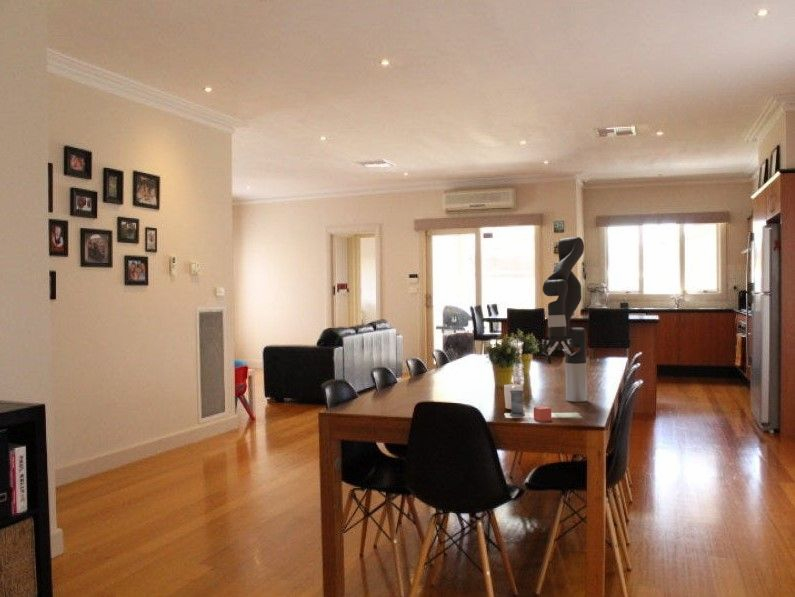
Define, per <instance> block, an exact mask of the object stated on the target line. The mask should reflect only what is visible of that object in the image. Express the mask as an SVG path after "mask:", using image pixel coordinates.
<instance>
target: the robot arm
mask: <svg viewBox="0 0 795 597" xmlns="http://www.w3.org/2000/svg"><path fill="white" fill-rule="evenodd" d="M584 250H585V244H584V241H583V239H582V238H581V237H580V236H573V237H567V238H566V237H565V238H561V239H559V240H558V243H557V252H558V261H559V262H558V263H557V264H555V267H554V269H553V272H552V273H551V274H550V275H549V276H548V277H547V278H546V279H545V281H544V283H543V285H542V292H543V294H544V295H545V296H546V297H557V299H556V300H554V301H550V302H549V303H547V313H548V314H547V316H548V317H547V329H548V330H547V331H548V332H547V334H548V339H542V340H541V355H545V356H546V363H547V364H548V365H551V364H552V355H551V354H552V353H553V352H554V351H555V350H562V351H563V352H564V353H565V359H564V361H565V365H564V366H565V367H564V368H565V369H564V370H565V401H567V402H574V403H575V402H578V403H580V402H587V400H588V394H587V392H588V391H587V386H588V384H587V381H588V380H587V331H586V329H585V328H584V327H569V326H570V322H571V319H572V316H573V314H574V313H575V312H576V310H577V308H578V307H579V306H580V304H581V301H582V285H581V282H580V281H579V279H578V277H577V276H576V274H575V273H574V272H573V271H572V270H573V268H574V267H575V265H576V264H577V262H578V261H579V260H580V259H581V257H582V255H583V254H584ZM548 345H549V346H548ZM575 348H576V349H578V350H575Z"/></svg>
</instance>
